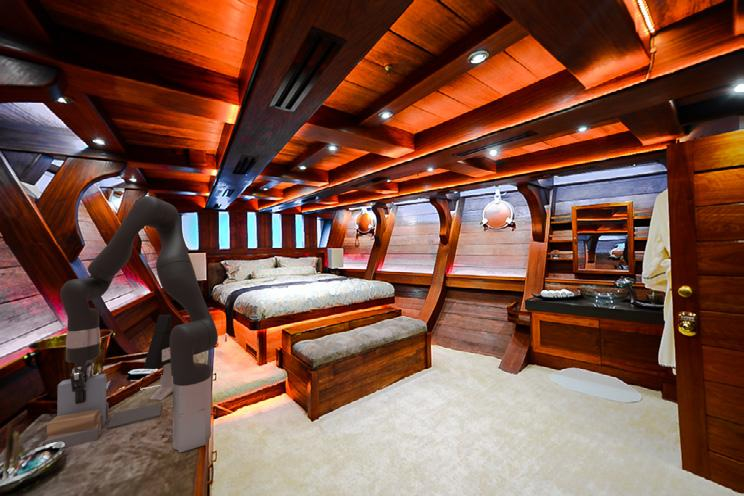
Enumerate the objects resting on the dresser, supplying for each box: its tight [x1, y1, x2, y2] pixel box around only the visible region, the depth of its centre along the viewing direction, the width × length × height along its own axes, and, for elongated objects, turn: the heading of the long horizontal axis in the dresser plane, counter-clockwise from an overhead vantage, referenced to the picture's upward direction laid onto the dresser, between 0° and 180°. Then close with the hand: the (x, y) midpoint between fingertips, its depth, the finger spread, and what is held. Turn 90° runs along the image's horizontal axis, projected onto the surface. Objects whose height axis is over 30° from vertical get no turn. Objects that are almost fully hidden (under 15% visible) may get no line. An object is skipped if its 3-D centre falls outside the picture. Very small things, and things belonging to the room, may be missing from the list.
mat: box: [106, 402, 163, 431], centre depth 97 cm, size 10×13×1 cm
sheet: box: [56, 372, 107, 426], centre depth 90 cm, size 4×10×15 cm, turn 122°
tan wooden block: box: [44, 401, 109, 448], centre depth 88 cm, size 13×11×5 cm
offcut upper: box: [46, 409, 100, 438], centre depth 84 cm, size 4×10×4 cm, turn 113°
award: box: [143, 314, 173, 401], centre depth 113 cm, size 15×5×30 cm, turn 168°
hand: (83, 399), depth 90 cm, fingers closed on sheet, 4 cm apart
